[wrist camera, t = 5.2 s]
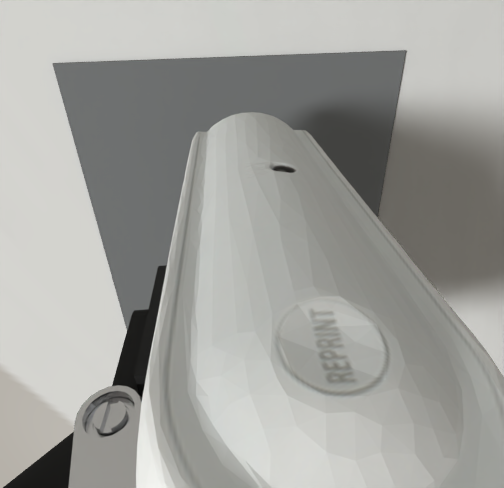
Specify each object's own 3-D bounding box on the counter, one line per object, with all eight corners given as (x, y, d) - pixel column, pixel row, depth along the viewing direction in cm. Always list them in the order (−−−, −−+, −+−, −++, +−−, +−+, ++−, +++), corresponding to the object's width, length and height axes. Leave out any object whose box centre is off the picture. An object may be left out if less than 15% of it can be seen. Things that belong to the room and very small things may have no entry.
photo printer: (180, 107, 11) (-222, 1219, 1) (315, 104, 12) (1188, 904, 1) (203, 339, 17) (184, 870, 6) (294, 334, 17) (418, 829, 7)
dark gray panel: (54, 63, 14) (52, 63, 14) (403, 50, 15) (406, 50, 15) (127, 327, 21) (126, 330, 21) (360, 308, 22) (361, 311, 22)
